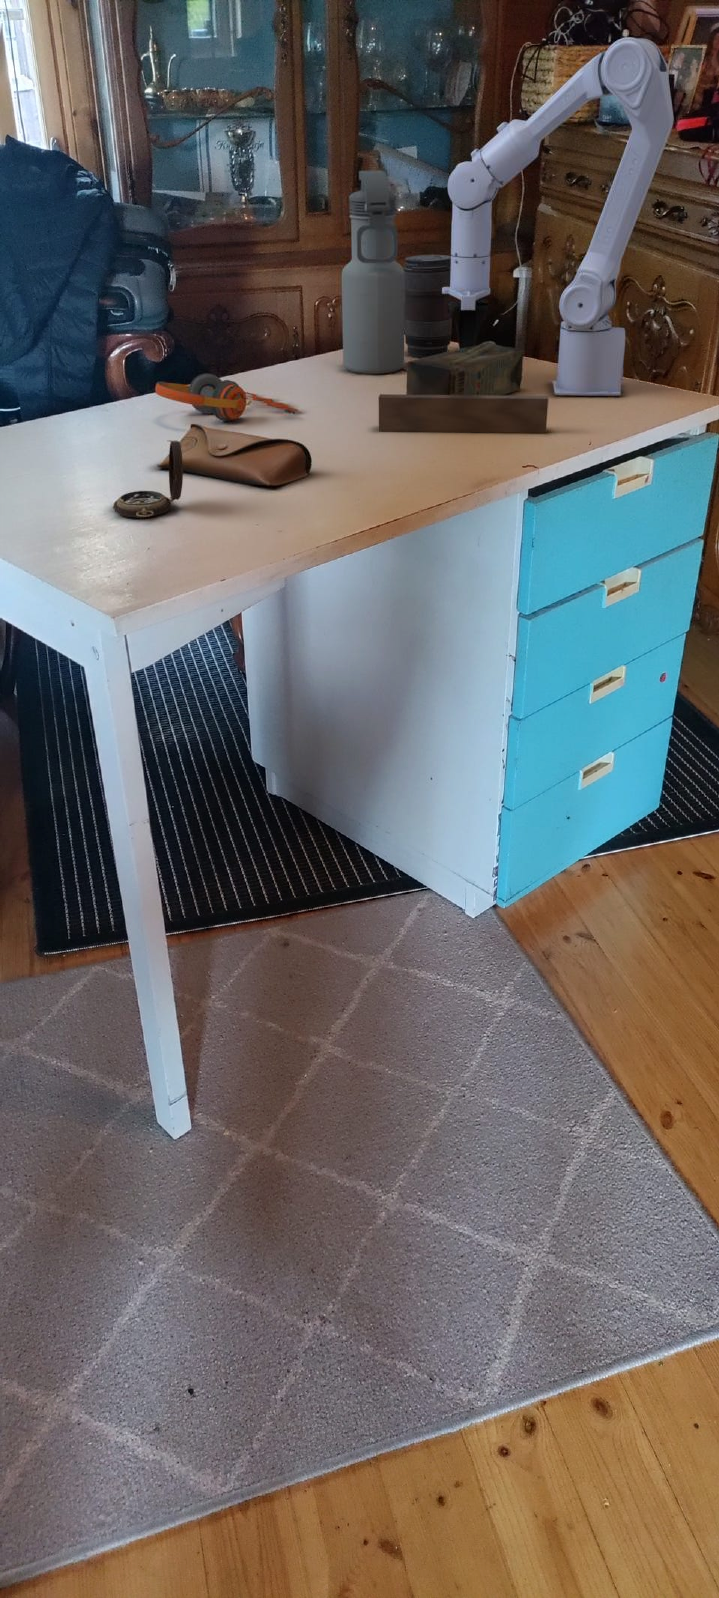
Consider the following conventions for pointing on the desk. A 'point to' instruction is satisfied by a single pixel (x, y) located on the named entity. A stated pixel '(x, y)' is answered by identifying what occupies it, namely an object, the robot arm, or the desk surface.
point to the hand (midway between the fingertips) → (467, 353)
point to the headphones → (214, 396)
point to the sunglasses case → (242, 457)
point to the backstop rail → (463, 413)
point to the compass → (151, 500)
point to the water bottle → (373, 282)
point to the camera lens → (427, 305)
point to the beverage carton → (467, 371)
